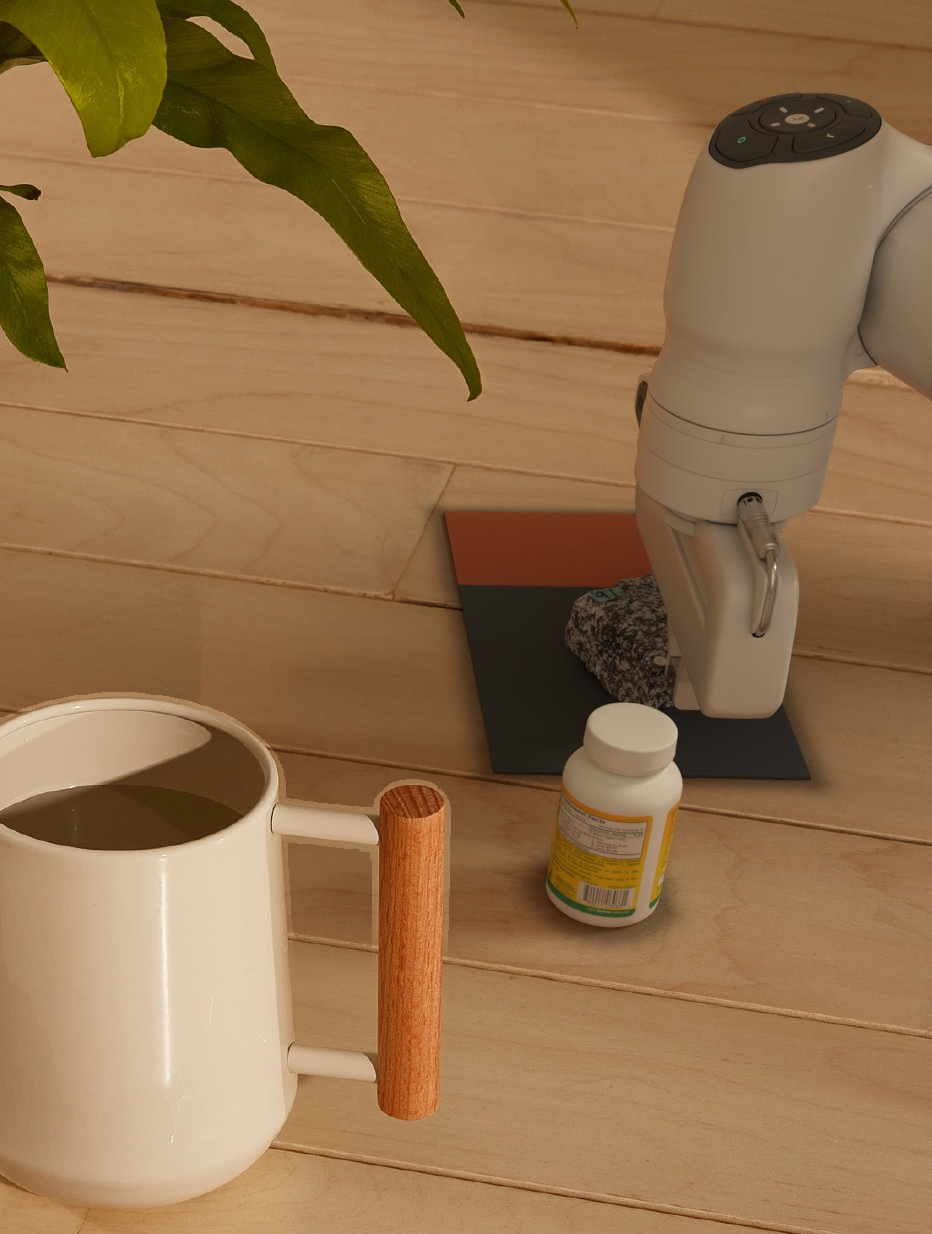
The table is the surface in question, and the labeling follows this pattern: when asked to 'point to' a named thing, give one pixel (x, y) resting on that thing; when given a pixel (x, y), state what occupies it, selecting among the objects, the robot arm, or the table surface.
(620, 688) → the rock
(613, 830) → the supplement bottle
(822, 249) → the robot arm
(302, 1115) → the table surface
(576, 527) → the mat
